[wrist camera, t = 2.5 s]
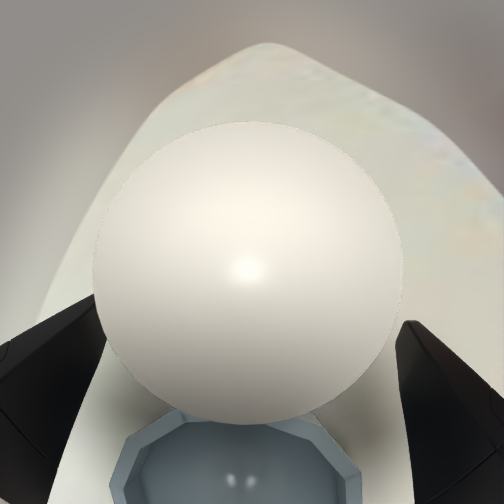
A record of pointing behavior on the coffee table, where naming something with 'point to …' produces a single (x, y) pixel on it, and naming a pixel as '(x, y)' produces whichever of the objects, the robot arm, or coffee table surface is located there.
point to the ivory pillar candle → (248, 273)
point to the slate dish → (234, 464)
